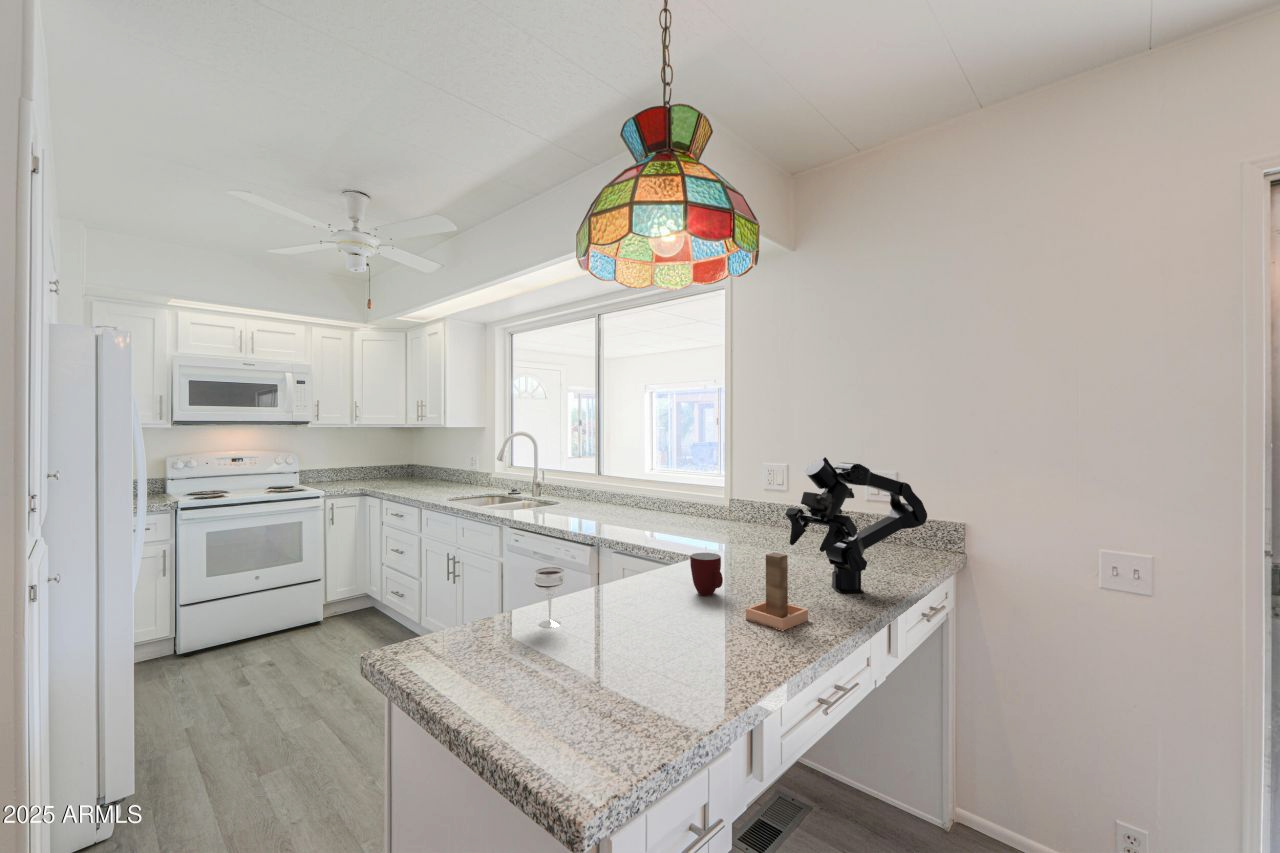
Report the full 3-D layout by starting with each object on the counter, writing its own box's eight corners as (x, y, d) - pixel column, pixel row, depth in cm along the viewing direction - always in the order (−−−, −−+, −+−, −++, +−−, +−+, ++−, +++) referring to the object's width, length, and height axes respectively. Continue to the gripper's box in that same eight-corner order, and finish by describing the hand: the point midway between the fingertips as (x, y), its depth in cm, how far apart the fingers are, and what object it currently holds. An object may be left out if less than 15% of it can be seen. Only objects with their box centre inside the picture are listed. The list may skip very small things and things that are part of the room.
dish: (771, 609, 132) (771, 599, 132) (808, 620, 125) (808, 609, 125) (745, 619, 126) (745, 608, 126) (783, 631, 118) (783, 620, 118)
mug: (734, 596, 143) (734, 558, 142) (712, 602, 138) (712, 563, 138) (705, 587, 151) (705, 551, 151) (684, 592, 146) (684, 555, 146)
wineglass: (566, 627, 121) (566, 573, 121) (535, 630, 120) (535, 576, 120) (563, 617, 128) (562, 566, 128) (533, 619, 126) (533, 568, 126)
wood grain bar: (773, 612, 129) (773, 551, 129) (792, 617, 125) (792, 554, 125) (761, 617, 126) (761, 554, 125) (780, 623, 122) (779, 558, 122)
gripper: (789, 477, 149) (762, 522, 143) (850, 483, 134) (822, 533, 128) (807, 504, 154) (782, 548, 147) (868, 512, 139) (843, 562, 132)
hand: (805, 547), depth 139 cm, fingers open, 9 cm apart
